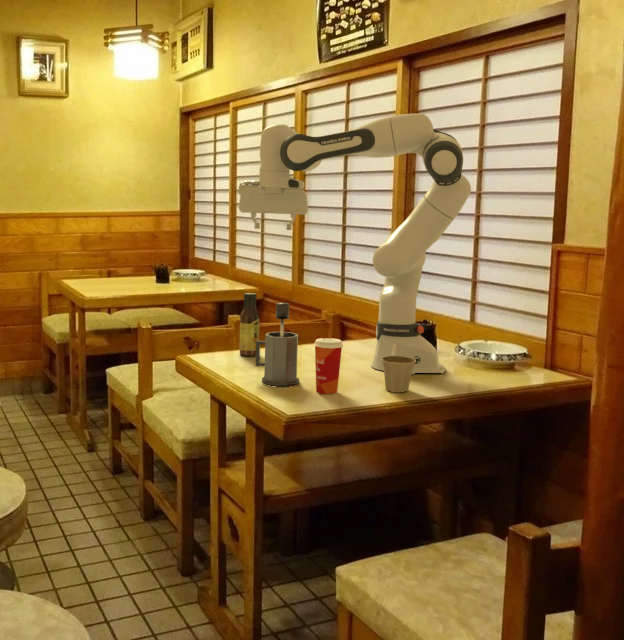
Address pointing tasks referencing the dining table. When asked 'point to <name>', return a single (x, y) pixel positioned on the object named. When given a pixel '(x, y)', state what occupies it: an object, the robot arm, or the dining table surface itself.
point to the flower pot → (397, 372)
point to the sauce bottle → (249, 326)
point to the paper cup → (327, 364)
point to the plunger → (282, 315)
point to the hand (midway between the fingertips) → (273, 229)
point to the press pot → (279, 359)
